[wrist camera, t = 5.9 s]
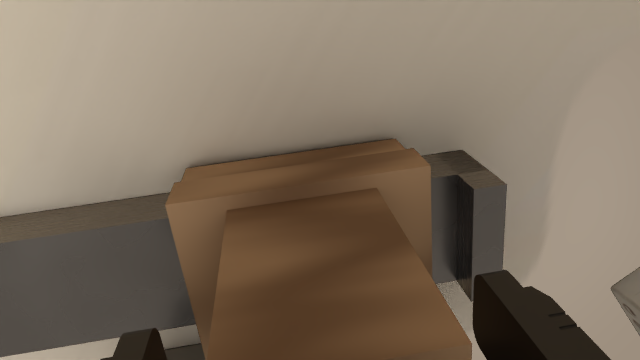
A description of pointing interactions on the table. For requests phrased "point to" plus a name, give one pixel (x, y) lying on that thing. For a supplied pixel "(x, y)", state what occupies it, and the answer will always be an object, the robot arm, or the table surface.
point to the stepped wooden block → (314, 257)
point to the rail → (165, 269)
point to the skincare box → (629, 296)
